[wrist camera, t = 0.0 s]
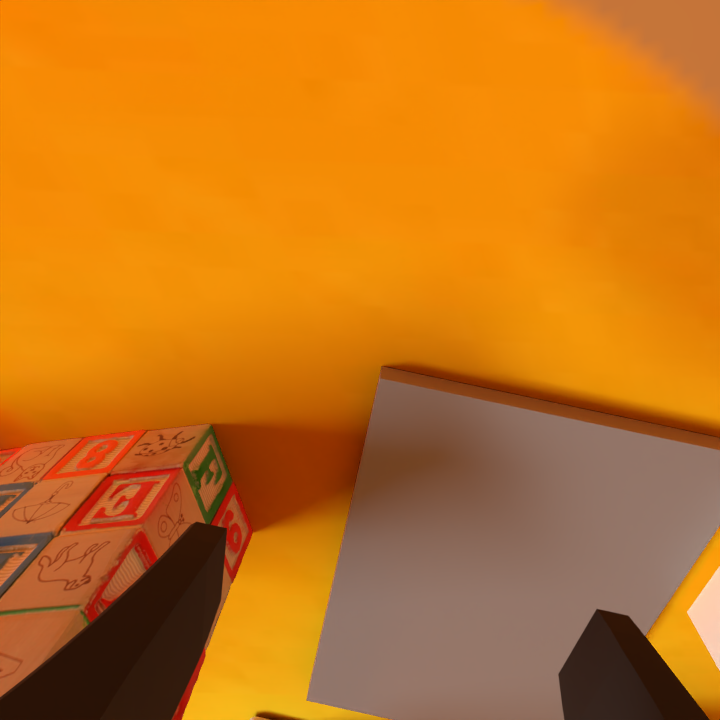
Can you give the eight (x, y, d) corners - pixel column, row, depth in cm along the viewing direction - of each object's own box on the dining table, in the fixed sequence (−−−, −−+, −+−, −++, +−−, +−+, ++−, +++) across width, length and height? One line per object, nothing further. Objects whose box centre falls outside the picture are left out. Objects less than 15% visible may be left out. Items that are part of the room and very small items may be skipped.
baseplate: (558, 736, 27) (562, 757, 26) (310, 681, 27) (306, 700, 27) (747, 443, 19) (764, 459, 18) (381, 366, 19) (379, 378, 18)
